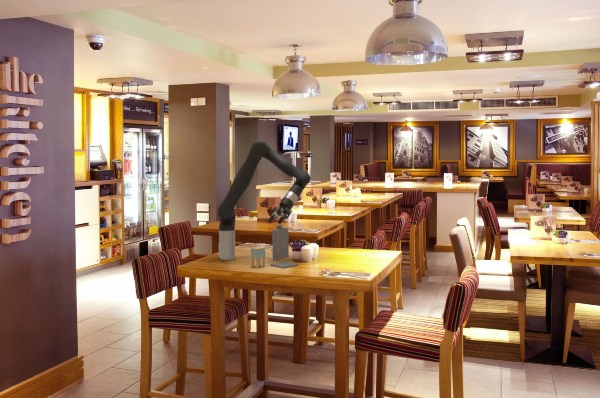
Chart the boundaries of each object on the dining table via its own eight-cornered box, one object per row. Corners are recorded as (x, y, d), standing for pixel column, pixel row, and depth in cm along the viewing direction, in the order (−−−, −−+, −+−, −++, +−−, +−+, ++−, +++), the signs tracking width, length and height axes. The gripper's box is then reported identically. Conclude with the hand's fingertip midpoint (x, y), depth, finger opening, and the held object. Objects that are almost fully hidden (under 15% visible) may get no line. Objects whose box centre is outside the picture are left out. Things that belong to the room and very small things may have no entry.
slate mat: (270, 265, 345) (270, 264, 345) (285, 263, 352) (285, 261, 352) (283, 268, 337) (283, 266, 336) (298, 265, 344) (298, 264, 344)
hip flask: (276, 260, 360) (275, 226, 359) (270, 259, 362) (269, 226, 361) (289, 256, 374) (289, 223, 373) (283, 255, 376) (283, 222, 375)
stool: (251, 266, 342) (250, 247, 342) (259, 265, 346) (258, 246, 345) (257, 268, 338) (257, 248, 337) (265, 266, 342) (265, 247, 341)
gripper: (277, 196, 358) (262, 217, 351) (293, 197, 347) (278, 219, 341) (284, 204, 362) (269, 225, 355) (300, 206, 351) (285, 228, 345)
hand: (273, 222), depth 348 cm, fingers open, 8 cm apart
